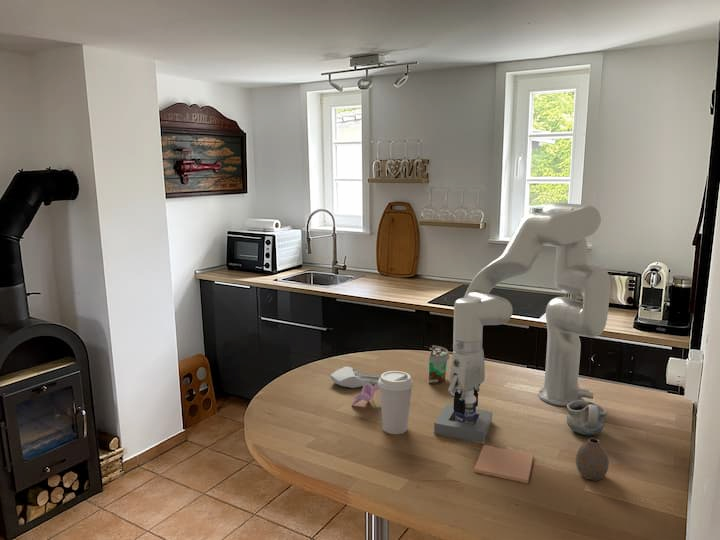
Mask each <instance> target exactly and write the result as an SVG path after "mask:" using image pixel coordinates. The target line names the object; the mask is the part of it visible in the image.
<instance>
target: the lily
mask: <svg viewBox="0 0 720 540" xmlns="http://www.w3.org/2000/svg"><path fill="white" fill-rule="evenodd" d="M377 391H380V386H379V385H378V383H377V384H375V385H372V384H370V383H366V384H365V385H364V386H362V388H361V393H360V394H357V395H356V396H355V397H353V398H352V400H354V401H353V402H352V404H351V407H353V406H355V405H356V404H358V403H359V402H361V401H363V400H364V401H365V402H370V401H372V404H373V406H374V408H375V410H376V412H378V409H377V406H376V404H375V402H374V399H373V398H374V395H375V393H376V392H377Z"/></svg>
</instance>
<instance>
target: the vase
mask: <svg viewBox="0 0 720 540" xmlns="http://www.w3.org/2000/svg"><path fill="white" fill-rule="evenodd" d="M575 455H576V456H575V465H576V470H577V471H578V473H579V474H580V475H581V476H582V477H583V478H584V479H586V480H589V481H599V480H601V479H603V478H605V476H606V475H607V473H608V471H609V466H610V465H609V464H610V463H609V455H608V453H607V451H606V449H604V447H603V445H602V443H601V441H600V440H599V439H598V438H596V437H595V438H594V437H589V438H588V439H587V441H586V442H585V443H583V444H582V445H581V446H580V447H579V448H578V450H577V452H576V454H575Z"/></svg>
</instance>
